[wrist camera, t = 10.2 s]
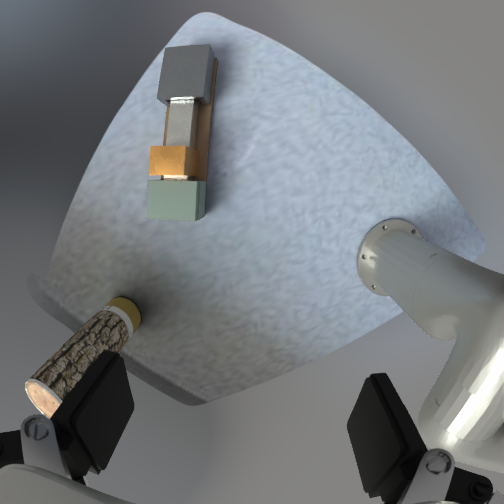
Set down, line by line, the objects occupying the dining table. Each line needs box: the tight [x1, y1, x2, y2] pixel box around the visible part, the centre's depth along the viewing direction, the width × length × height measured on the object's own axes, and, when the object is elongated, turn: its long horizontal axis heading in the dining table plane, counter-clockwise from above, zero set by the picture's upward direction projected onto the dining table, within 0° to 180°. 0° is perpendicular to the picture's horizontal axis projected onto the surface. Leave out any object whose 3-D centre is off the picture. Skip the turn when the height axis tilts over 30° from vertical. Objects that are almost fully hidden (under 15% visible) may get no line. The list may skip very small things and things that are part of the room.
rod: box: [149, 99, 200, 181], centre depth 33 cm, size 4×15×7 cm, turn 176°
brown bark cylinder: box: [25, 297, 141, 419], centre depth 33 cm, size 7×7×25 cm
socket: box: [147, 180, 206, 222], centre depth 36 cm, size 7×5×5 cm
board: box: [161, 58, 218, 200], centre depth 36 cm, size 7×24×1 cm, turn 176°
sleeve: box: [157, 45, 215, 107], centre depth 31 cm, size 6×8×5 cm
